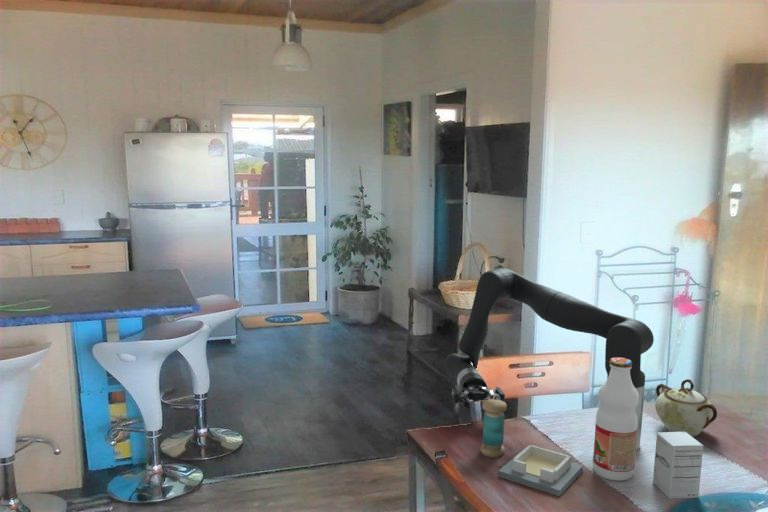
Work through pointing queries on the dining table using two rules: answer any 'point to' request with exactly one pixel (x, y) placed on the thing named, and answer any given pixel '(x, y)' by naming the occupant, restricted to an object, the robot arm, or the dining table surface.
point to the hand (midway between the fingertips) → (483, 405)
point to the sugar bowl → (684, 409)
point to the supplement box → (677, 464)
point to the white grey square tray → (542, 470)
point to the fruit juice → (616, 424)
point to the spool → (493, 428)
